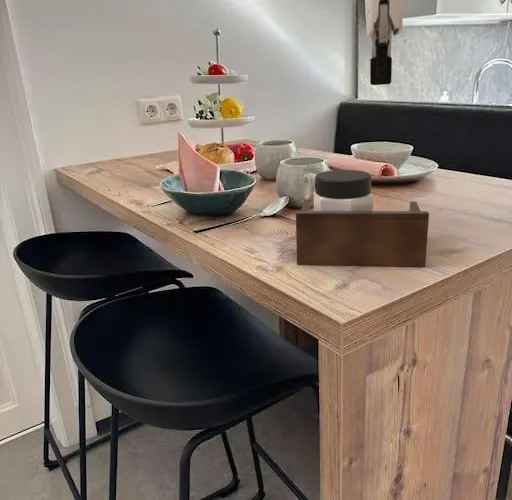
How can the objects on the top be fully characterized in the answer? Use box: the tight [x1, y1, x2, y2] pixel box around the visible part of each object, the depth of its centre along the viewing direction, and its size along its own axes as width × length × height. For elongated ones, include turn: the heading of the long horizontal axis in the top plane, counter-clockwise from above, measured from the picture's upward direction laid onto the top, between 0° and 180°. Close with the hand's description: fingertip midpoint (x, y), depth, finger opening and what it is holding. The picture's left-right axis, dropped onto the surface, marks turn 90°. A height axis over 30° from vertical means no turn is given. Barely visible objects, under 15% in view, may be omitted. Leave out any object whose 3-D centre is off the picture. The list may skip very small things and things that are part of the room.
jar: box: [313, 169, 374, 211], centre depth 75 cm, size 9×8×12 cm
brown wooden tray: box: [295, 201, 430, 268], centre depth 76 cm, size 18×13×8 cm
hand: (380, 84), depth 80 cm, fingers closed
